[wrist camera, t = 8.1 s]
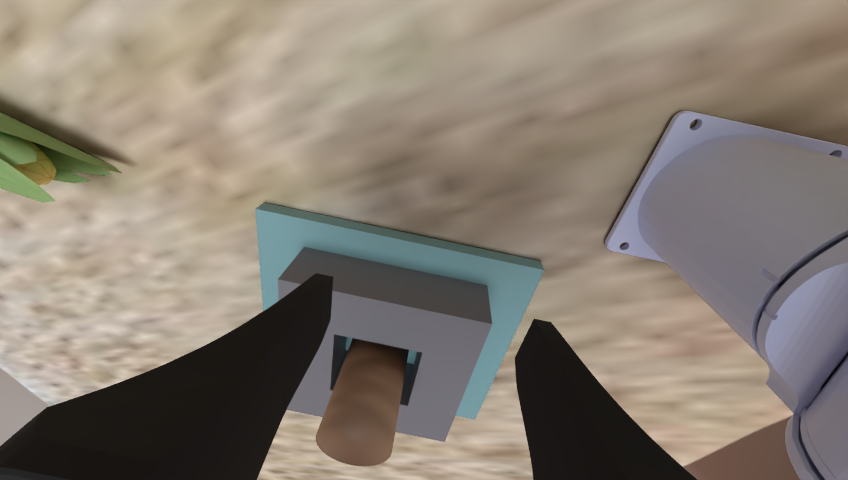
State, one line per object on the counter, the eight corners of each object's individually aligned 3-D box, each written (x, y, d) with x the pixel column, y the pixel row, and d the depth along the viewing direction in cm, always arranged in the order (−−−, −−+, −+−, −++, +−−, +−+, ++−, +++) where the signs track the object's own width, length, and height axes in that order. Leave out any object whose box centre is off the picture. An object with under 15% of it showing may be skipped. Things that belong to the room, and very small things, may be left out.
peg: (409, 311, 23) (388, 425, 16) (412, 352, 25) (394, 468, 18) (353, 309, 23) (308, 419, 16) (361, 349, 25) (323, 462, 18)
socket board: (540, 261, 21) (559, 308, 17) (474, 408, 29) (477, 463, 25) (264, 202, 21) (218, 236, 17) (274, 367, 29) (245, 416, 25)
